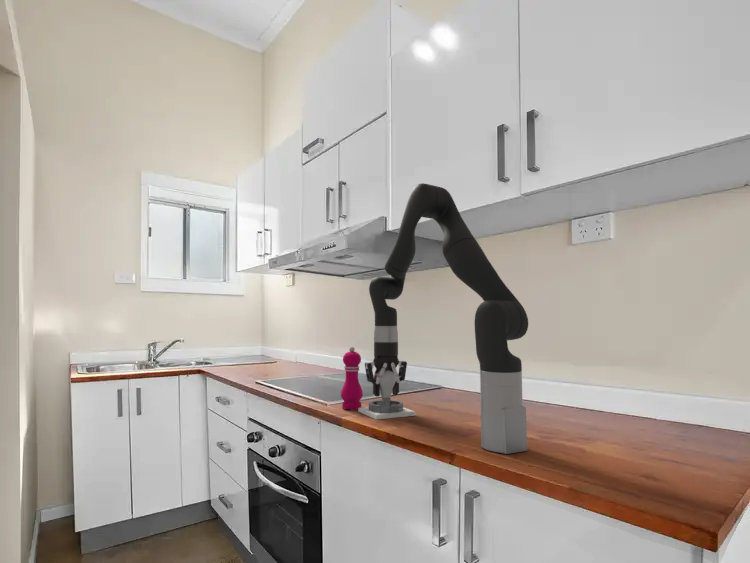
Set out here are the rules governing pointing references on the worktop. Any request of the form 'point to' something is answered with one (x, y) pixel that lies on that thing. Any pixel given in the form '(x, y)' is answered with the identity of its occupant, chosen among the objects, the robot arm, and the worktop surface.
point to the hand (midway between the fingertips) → (386, 395)
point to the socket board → (386, 415)
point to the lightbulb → (387, 386)
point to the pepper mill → (351, 381)
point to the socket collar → (381, 408)
